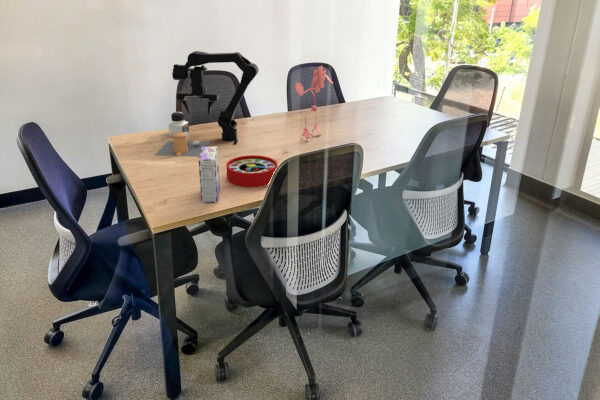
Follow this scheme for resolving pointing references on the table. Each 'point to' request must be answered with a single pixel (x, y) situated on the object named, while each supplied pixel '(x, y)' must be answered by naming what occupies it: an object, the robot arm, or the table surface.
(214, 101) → the robot arm
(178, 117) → the medicine bottle
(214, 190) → the candy box
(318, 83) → the figurine
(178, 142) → the tan rounded piece
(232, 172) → the toy clock
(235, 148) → the table surface
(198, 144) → the stand
